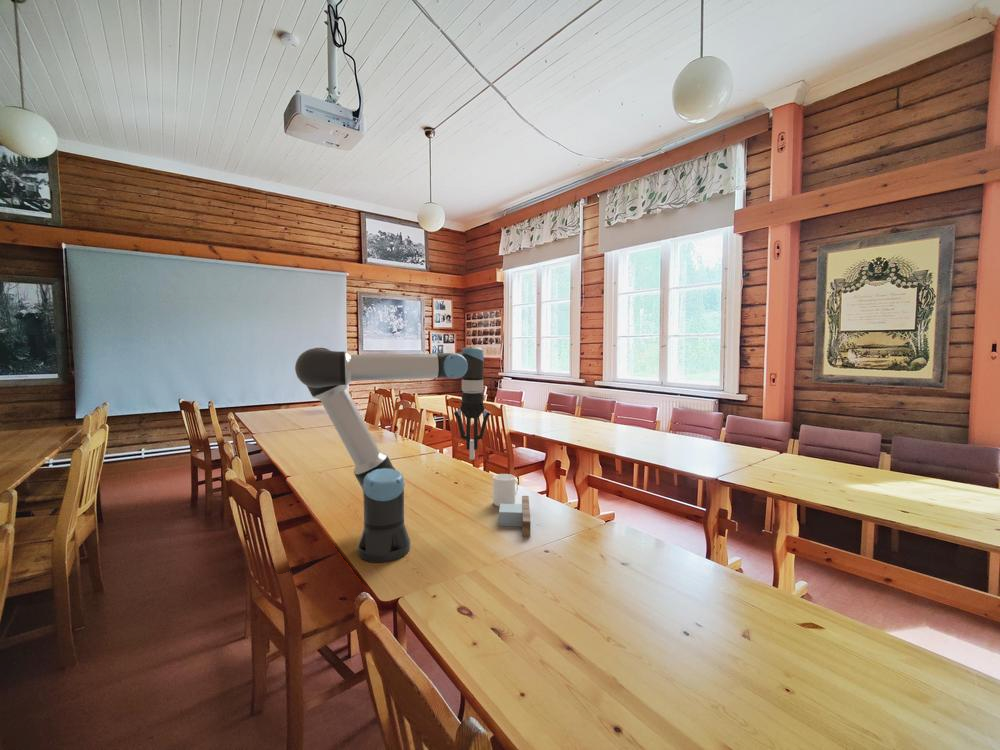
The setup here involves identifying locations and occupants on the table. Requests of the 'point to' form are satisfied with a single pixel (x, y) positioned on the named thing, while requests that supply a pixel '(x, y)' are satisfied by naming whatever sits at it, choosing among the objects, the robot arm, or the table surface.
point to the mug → (504, 489)
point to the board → (525, 516)
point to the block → (510, 515)
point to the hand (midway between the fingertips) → (472, 458)
